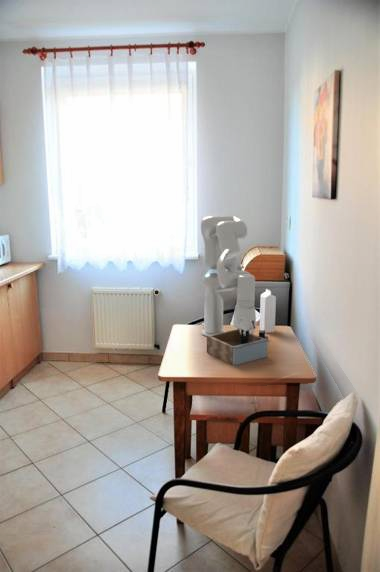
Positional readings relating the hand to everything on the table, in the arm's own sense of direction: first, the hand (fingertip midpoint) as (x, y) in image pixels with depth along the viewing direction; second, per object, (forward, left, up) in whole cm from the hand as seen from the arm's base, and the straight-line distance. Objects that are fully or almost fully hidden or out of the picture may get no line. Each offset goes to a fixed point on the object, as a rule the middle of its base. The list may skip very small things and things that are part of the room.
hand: (244, 343), depth 202 cm
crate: (-6, 0, -7) cm, 9 cm away
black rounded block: (-15, +25, -8) cm, 30 cm away
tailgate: (+4, 0, -7) cm, 8 cm away
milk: (-24, +36, -7) cm, 44 cm away
